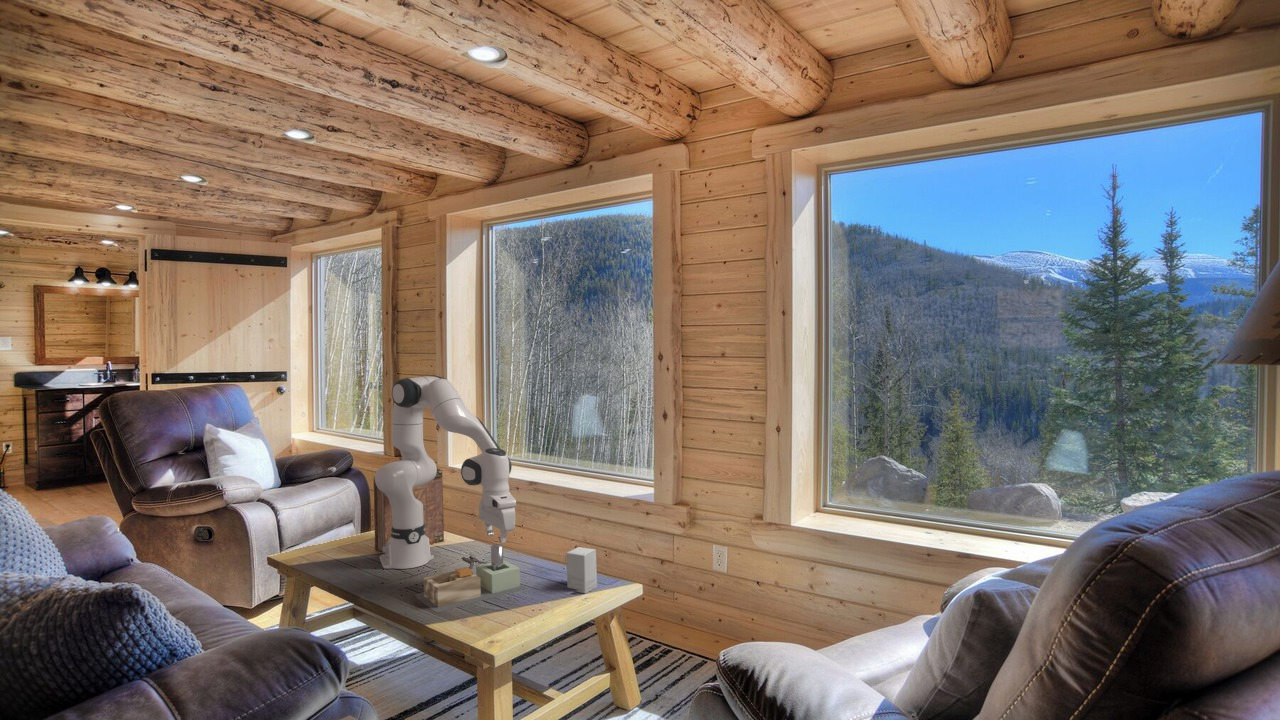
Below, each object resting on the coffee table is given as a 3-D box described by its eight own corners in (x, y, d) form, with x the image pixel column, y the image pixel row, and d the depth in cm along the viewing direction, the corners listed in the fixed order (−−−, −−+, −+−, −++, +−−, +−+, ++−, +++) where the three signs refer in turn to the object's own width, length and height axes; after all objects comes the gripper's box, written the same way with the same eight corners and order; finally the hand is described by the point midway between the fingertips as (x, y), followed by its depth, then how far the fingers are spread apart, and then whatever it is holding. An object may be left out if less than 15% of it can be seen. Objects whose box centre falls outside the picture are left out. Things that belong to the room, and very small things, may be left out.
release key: (455, 586, 219) (455, 569, 219) (467, 583, 222) (466, 566, 222) (460, 589, 216) (460, 572, 216) (472, 586, 219) (472, 569, 219)
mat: (414, 597, 219) (413, 594, 219) (501, 576, 238) (501, 573, 238) (436, 615, 204) (436, 612, 204) (528, 591, 223) (527, 588, 223)
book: (385, 555, 264) (383, 479, 264) (374, 550, 271) (372, 476, 270) (444, 541, 282) (442, 469, 282) (433, 537, 289) (431, 467, 288)
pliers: (478, 572, 241) (447, 561, 254) (478, 575, 241) (447, 563, 254) (500, 566, 248) (469, 555, 261) (500, 568, 248) (469, 557, 261)
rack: (476, 583, 228) (476, 565, 228) (503, 576, 234) (503, 559, 234) (492, 593, 219) (491, 574, 219) (520, 586, 225) (519, 568, 225)
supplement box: (597, 586, 226) (597, 549, 225) (584, 594, 219) (584, 555, 219) (579, 583, 229) (578, 546, 229) (566, 590, 223) (565, 552, 223)
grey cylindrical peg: (489, 581, 227) (488, 545, 227) (500, 578, 230) (499, 543, 229) (494, 584, 224) (494, 548, 224) (505, 581, 226) (505, 546, 226)
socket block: (423, 596, 217) (423, 577, 217) (465, 586, 226) (464, 568, 226) (438, 607, 208) (437, 588, 208) (480, 596, 216) (480, 577, 216)
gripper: (474, 493, 232) (474, 533, 233) (500, 505, 216) (501, 548, 216) (491, 490, 236) (491, 530, 236) (518, 502, 220) (519, 544, 220)
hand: (496, 538), depth 226 cm, fingers open, 8 cm apart
